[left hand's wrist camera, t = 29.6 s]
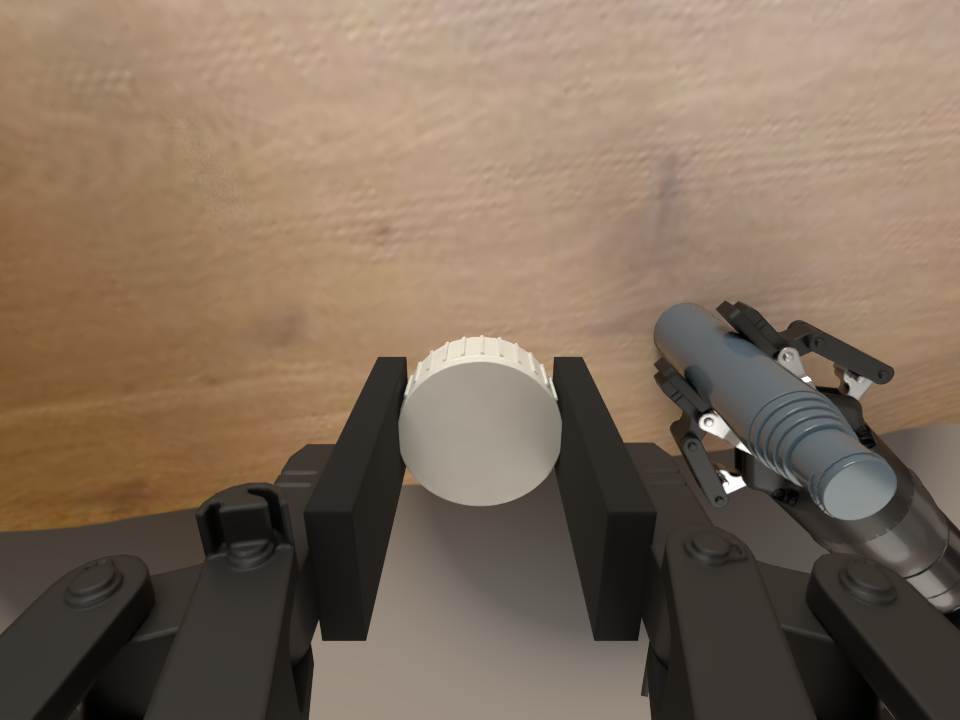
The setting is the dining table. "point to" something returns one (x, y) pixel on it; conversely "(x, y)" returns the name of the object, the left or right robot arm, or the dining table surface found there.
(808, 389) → the bottle
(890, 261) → the dining table surface
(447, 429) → the cap
